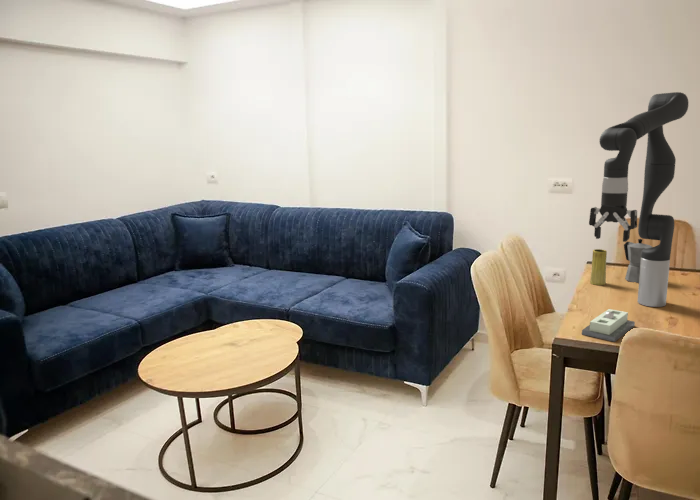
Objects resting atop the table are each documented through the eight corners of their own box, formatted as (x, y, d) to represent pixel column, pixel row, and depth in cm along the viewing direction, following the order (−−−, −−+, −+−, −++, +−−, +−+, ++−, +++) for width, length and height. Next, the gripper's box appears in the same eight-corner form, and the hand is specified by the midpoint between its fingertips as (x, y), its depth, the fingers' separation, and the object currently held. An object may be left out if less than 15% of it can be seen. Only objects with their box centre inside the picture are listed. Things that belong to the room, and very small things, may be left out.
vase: (607, 285, 221) (609, 252, 218) (591, 285, 222) (593, 252, 219) (603, 281, 226) (605, 249, 223) (588, 281, 228) (590, 248, 225)
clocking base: (603, 319, 182) (604, 302, 181) (634, 325, 175) (635, 308, 174) (581, 334, 170) (582, 316, 169) (614, 342, 163) (615, 323, 162)
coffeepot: (658, 283, 221) (662, 240, 217) (639, 285, 219) (642, 242, 215) (631, 274, 236) (634, 234, 232) (613, 276, 234) (615, 236, 230)
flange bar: (608, 317, 180) (609, 308, 179) (627, 321, 176) (627, 312, 175) (589, 330, 169) (590, 321, 168) (609, 334, 165) (609, 325, 164)
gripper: (587, 191, 175) (585, 239, 178) (634, 193, 165) (630, 244, 168) (596, 189, 180) (593, 235, 183) (642, 190, 170) (638, 240, 173)
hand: (611, 239), depth 176 cm, fingers open, 8 cm apart
